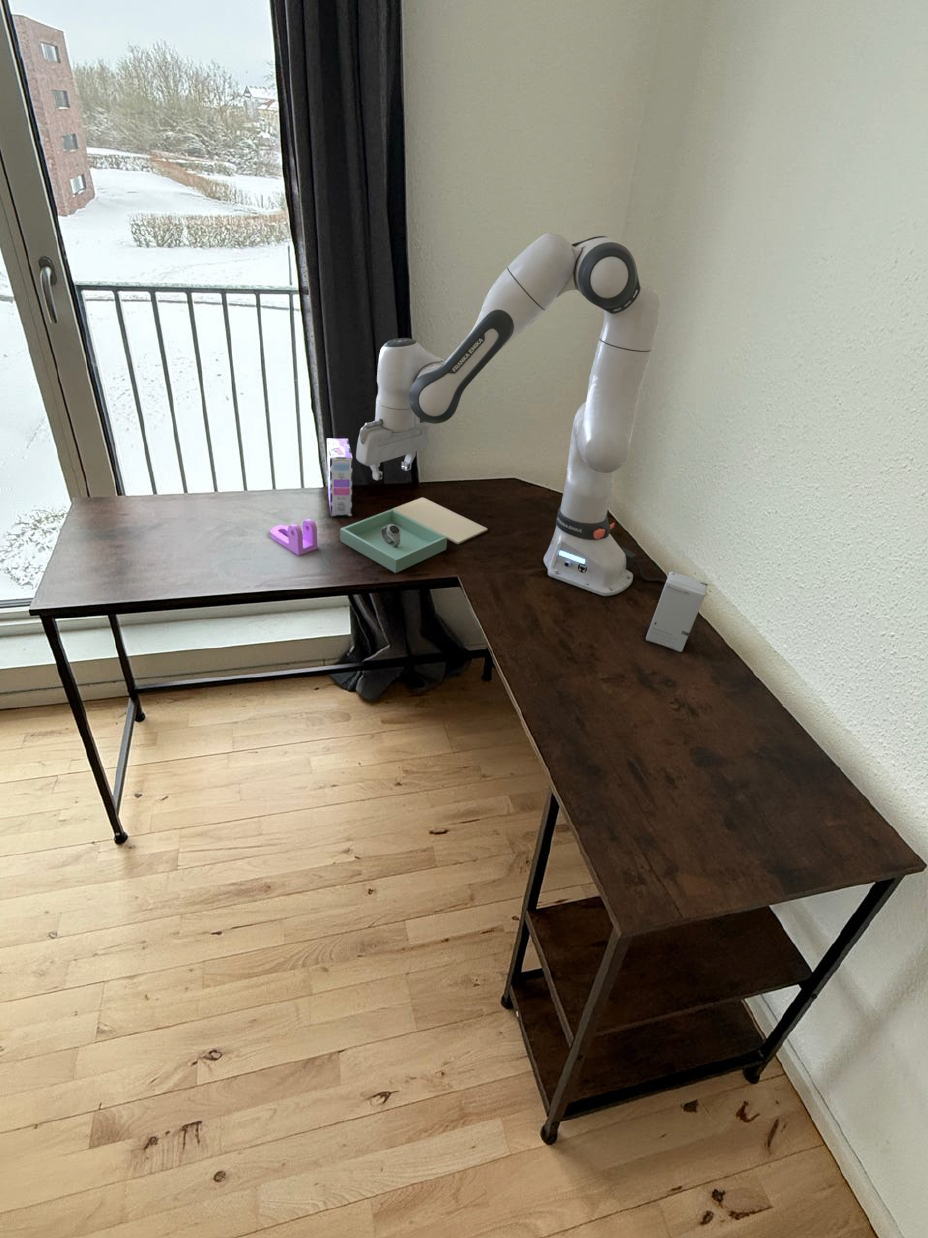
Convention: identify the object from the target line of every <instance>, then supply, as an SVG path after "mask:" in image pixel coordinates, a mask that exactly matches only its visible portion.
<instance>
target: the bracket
mask: <svg viewBox="0 0 928 1238" xmlns="http://www.w3.org/2000/svg"><path fill="white" fill-rule="evenodd" d="M270 537H271V539H272V540H274V541H275V542H277V543H279V544H280V545H281V546H282V547H285V549H287V550H289V551H291V552H292V553H294V554H296V555H297V556H302V555H303V554H307V553H309V552H312V551H315V550H317V549H318V526H317V524H316V522H315V521H314V520H313V519H312V518H309V519H305V520H303V522H302V528H301V526H299V525H298V524H297V523H294V524H290V525H287V524H285V525H284V524H279V525H276V526H273V527H272V528H270Z"/></svg>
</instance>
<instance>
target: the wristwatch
mask: <svg viewBox="0 0 928 1238" xmlns="http://www.w3.org/2000/svg"><path fill="white" fill-rule="evenodd" d="M386 529H387V531H388V533H389V535H391V536H392V537H393V538H394V541H393V540H392V539H391V538H390V537H389V536H388V535H387V532H386ZM381 534H382V537H383V539H384V540H385V542H386V543H387V544H389V545H391V546H392V547H394V546H397V545H399V544H400V529H399V528H398V527H397V526H396V525H394V524H390V525H387V526H386V527H384V528H382V530H381Z"/></svg>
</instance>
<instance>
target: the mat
mask: <svg viewBox="0 0 928 1238" xmlns="http://www.w3.org/2000/svg"><path fill="white" fill-rule="evenodd" d="M392 509H393V510H395V511H397V512H399V513H401V514H403V515H405V516H407V517H409V518H411V519H413V520H415V521H417V522H418V523H420V524H422V525H424V526H426V527H428V528H430V529H432V530H434V531H436V532H438V533H440V534H442V535H444V536H446V537H447V541H450V542H452V543H454V544H456V545H460V544H462V543H464V542H466V541H468V540H471V539H472V538H475V537H477V536H479V535H481V534H483V533H486V532H487V531H489V530H488V528H487V527H486V526H483V525H481V524H479V523H477V522H475V521H473V520H471V519H470V518H466V517H465V516H462V515H460V514H458V513H456V512H454V511H452V510H450V509H448V508H446V507H444V506H442V505H440V504H437V503H436V502H434V501H431V500H429V499H427V498H425V497H419V498H417V499H414V500H412V501H409V502H406V503H403V504H401V505H398V506H396V507H393V508H392Z"/></svg>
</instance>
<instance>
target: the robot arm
mask: <svg viewBox="0 0 928 1238" xmlns="http://www.w3.org/2000/svg"><path fill="white" fill-rule="evenodd" d="M569 291H578V292H579V293H580V294H581V295H582V296H583V297H584V298H585V299H586V300H587V301H589V303H591V304H593V305H594V306H596V307H598V308H600V309H602V310H603V324H602V327H601V331H600V334H599V338H598V342H597V346H596V349H595V353H594V357H593V361H592V366H591V369H590V374H589V378H588V386H587V394H586V399H585V400H586V401H585V402H583V403H582V404H581V405H580V406H579V407H578V408H577V410H576V413H575V415H574V418H573V423H572V428H571V436H570V444H569V451H568V458H567V459H568V460H567V467H566V477H565V482H564V487H563V493H562V498H561V503H560V506H559V507H558V509H557V513H556V518H555V523H554V524H555V529H554V533H553V535H552V538H551V541H550V544H549V546H548V549H547V551H546V552H545V554H544V556H543V559H542V560H543V563H544V565H545V567H546V568H547V576H549V577H550V578H553V579H556V580H559V581H561V582H564V583H567V584H569V585H572V586H575V587H577V588H580V589H582V590H586V591H588V592H592V593H593V594H597V595H599V596H602V597H609V596H614V595H618V594H619V593H622V592H623V591H625V590H626V589H627V588H629V587H630V586H631V584H632V583H633V581H634V580H633V578H634V574H633V573H632V571H629V570H628V569H629V568H632V567H634V566H635V567H636V568H637V572H638V574H639V577H640V578H641V579H642V580H643V581H646V582H649V583H652V582H658V583H662V584H664V585H665V583H666V581H667V579H664V578H659V577H647V576H645V575H644V573H643V569H642V567H641V565H640V564H639V562H638V561H637V556H638V555H637V554H636V553H635V552H633V551H631V550H629V549H627V548H625V547H621V546H620V545H619V544H618V542H617V541H616V540H615V539H614V537H613V536H612V535H611V533H610V532H611V530H612V529H613V528H614V527H615V524H616V522H612V523H611V524H610V523H609V519H608V511H609V507H610V504H611V503H610V502H611V498H612V494H613V492H614V491H613V490H614V486H615V485H614V484H615V483H614V482H615V471H618V469H620V468H621V467H623V466H624V465H625V463H627V460H628V458H629V455H630V452H631V451H630V450H631V443H632V436H633V433H634V429H635V423H636V418H637V412H638V407H639V399H640V394H641V390H642V386H643V382H644V379H645V375H646V373H647V368H648V365H649V362H650V359H651V355H652V351H653V347H654V345H655V342H656V337H657V336H656V335H657V332H658V327H659V322H660V321H659V320H660V314H661V305H662V302H661V297H660V295H659V293H658V292H657V291H656V290H655V289H654V288H652V287H650V286H649V285H646V284H643V283H640V278H639V274H638V268H637V264H636V261H635V258H634V256H633V254H632V252H631V251H630V250H629V249H628V248H627V246H625V244H624V243H623V242H621V241H620V240H619V239H616V238H614V237H609V236H605V235H598V236H597V235H596V236H593V237H589V238H587V239H583V240H581V241H578V242H575V243H570V241H569V240H568V239H566V237H564V236H563V235H560V234H558V233H555V232H545V233H544V234H542V235H540V236H539V237H538V238H537V239H535V240H534V241H532V243H530V244H529V245H528V246H527V247H526V248H525V249H523V251H521V252H520V253H519V254H518V255H517V256H516V257H515V258H514V259H513V260H512V261H511V262H510V263H509V264H508V265H507V267H506V268H505V269H504V270H503V271H502V272H501V273H500V275H499V276H498V277H497V279H496V280H495V281H494V282H493V285H491V288H490V289H489V290H488V293H487V295H486V296H485V298H484V301H483V304H482V306H481V310H480V312H479V314H478V317H477V319H476V322H475V323H474V325H473V328H472V329H471V330H470V332H469V333H468V335H467V336H466V337H465V339H464V340H463V341H462V342H461V343H460V344H459V345H458V347H456V349H455V350H454V351H453V352H452V353H451V355H450V356H448V358H447V359H445V358H442V357H439V356H437V355H435V354H434V353H431V352H430V351H428V350H427V349H426V348H424V347H423V346H422V345H421V344H420V343H419V342H418V340H416V339H413V338H409V337H400V338H393V339H390V340H387V342H385V343H384V344H383V345H382V346H381V348H380V350H379V351H380V352H379V355H378V363H377V372H376V373H377V375H376V383H377V395H376V398H375V415H374V416H375V417H374V420H373V421H370V422H369V421H368V422H365V423H364V425H363V426H362V427H361V428H360V430H359V435H358V438H357V444H356V453H355V458H356V460H357V461H358V463H360V464H362V465H364V466H366V467H369V468H370V470H371V471H372V479H373V480H375V481H380V480H382V479H383V476H384V475H383V473H384V472H383V471H380V469H379V467H380V466H381V463H384V462H387V461H390V460H394V459H396V458H399V457H400V458H401V457H404V456H405V457H404V461H401V470H403V471H405V472H406V471H409V470H411V469H412V463H413V462H414V459H415V457H416V455H417V452H420V451H423V450H426V449H427V447H428V445H429V443H430V435H431V434H430V433H431V425H430V424H435V425H436V424H437V425H438V424H442V423H445V422H448V420H450V419H451V418H453V416H454V415H455V413H456V411H457V410H458V407H459V404H460V401H461V397H462V395H463V393H464V391H465V390H466V388H467V387H468V386H469V385H470V383H472V381H473V380H474V379H475V378H476V377H477V376H478V374H480V372H481V371H482V370H483V369H484V368H485V367H486V365H487V364H488V363H490V362H491V360H493V358H494V357H495V356H496V355H497V354H498V353H499V352H500V351H501V350H502V349H503V348H505V346H507V345H508V344H509V343H510V342H512V341H513V340H514V339H515V338H516V337H518V336H519V335H520V334H521V333H522V332H524V331H525V330H526V329H528V328H529V327H530V326H531V325H532V324H533V323H534V322H536V320H538V319H539V318H540V316H542V314H544V313H545V312H546V311H547V309H548V308H549V307H550V306H551V305H552V304H553V303H554V302H555V300H557V298H559V297H560V296H562V295H563V294H565V293H566V292H569Z"/></svg>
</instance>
